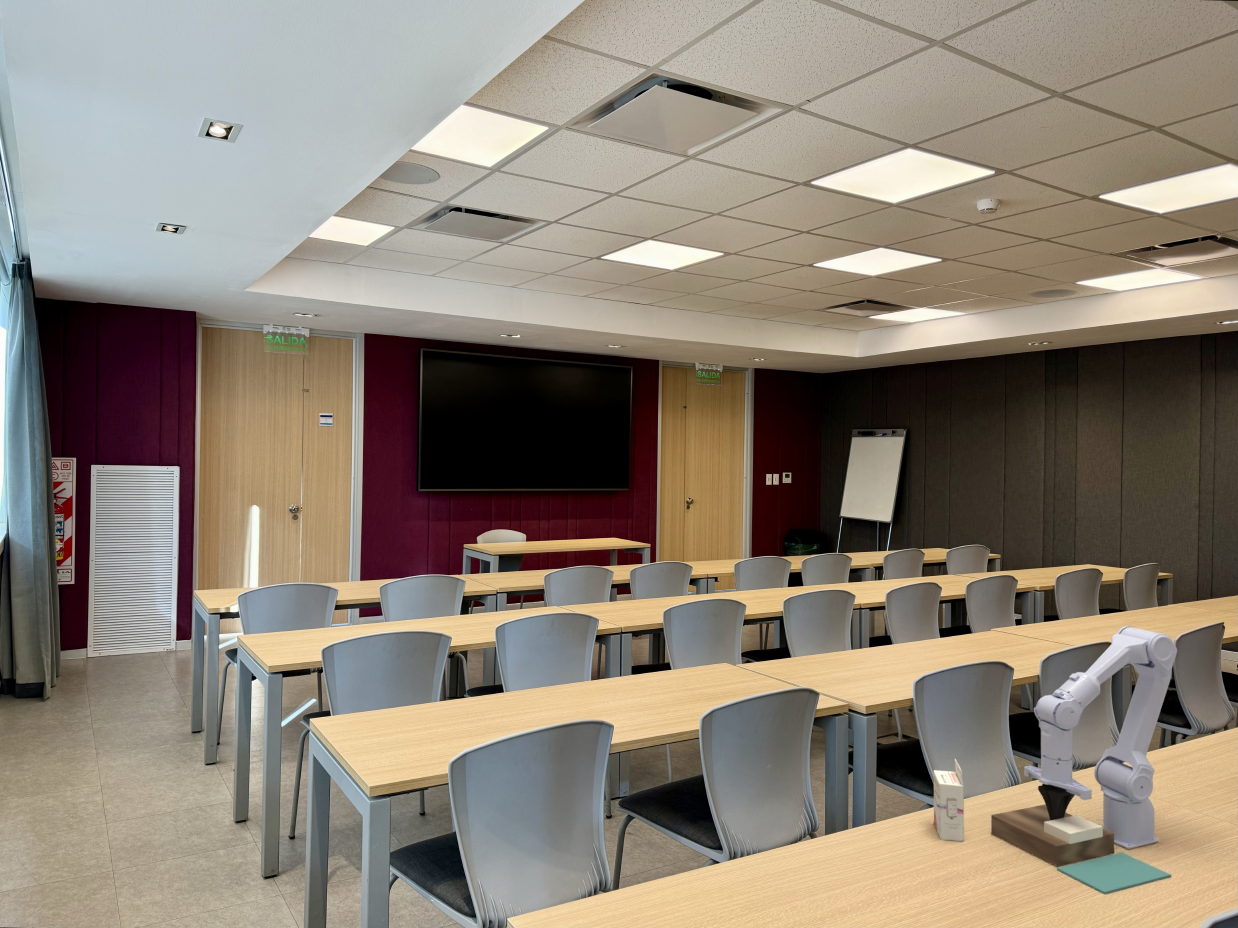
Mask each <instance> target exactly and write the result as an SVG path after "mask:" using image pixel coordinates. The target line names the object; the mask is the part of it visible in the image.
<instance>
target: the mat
mask: <svg viewBox="0 0 1238 928" xmlns="http://www.w3.org/2000/svg"><path fill="white" fill-rule="evenodd" d="M1056 871H1057V872H1061V874H1064V875H1067V876H1068V877H1070V878H1072V879H1074V880H1076V881H1078V882H1080V883H1081V884H1083V885H1085V886H1088V887H1089V886H1090V888H1092V889H1093V888H1094V889H1093V890H1095V891H1097V892H1099V893H1101V894H1103V895H1107V894H1111V893H1115V892H1118V891H1122V890H1127V889H1131V888H1133V887H1138V886H1141V885H1145V884H1149V883H1153V882H1157V881H1160V880H1164V879H1169V878H1171V877H1172V874H1171V873H1168V872H1166V871H1164V870H1161V869H1160V868H1157V867H1155V866H1153V865H1150V864H1148V863H1146V862H1144V861H1142V860H1140V859H1137V858H1135V857H1133V856H1131V855H1129V854H1127V853H1124V852H1118V853H1114V854H1109V855H1105V856H1101V857H1097V858H1093V859H1088V860H1084V861H1080V862H1076V863H1072V864H1067V865H1063V866H1059V867H1056Z"/></svg>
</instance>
